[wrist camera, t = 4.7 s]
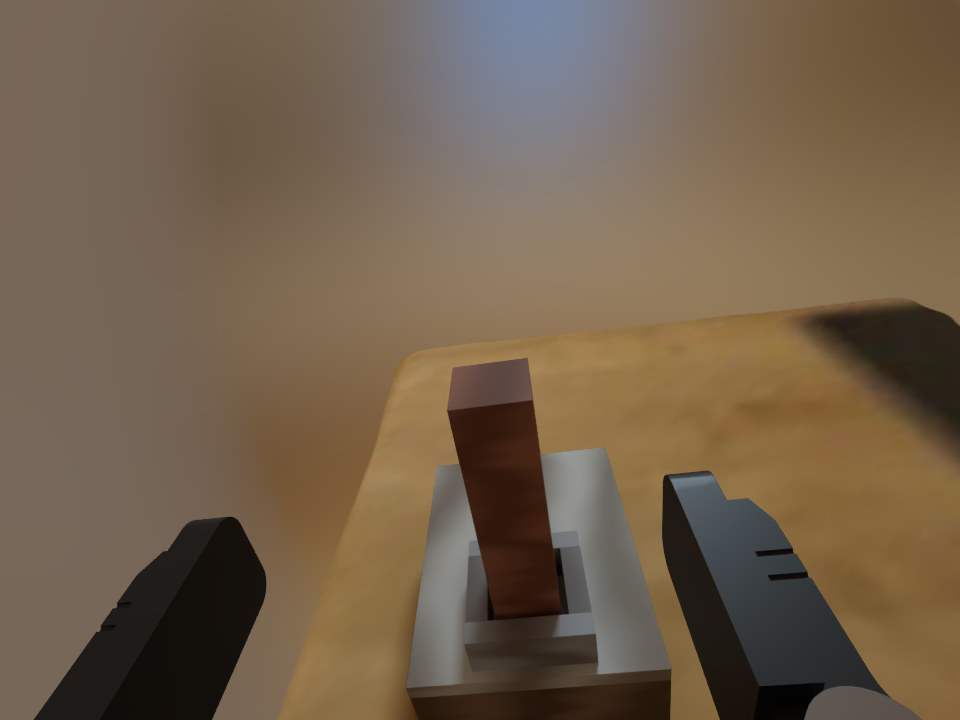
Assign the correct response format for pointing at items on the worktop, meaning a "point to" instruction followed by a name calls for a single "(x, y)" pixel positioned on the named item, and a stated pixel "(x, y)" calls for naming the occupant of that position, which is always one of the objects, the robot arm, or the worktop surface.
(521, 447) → the wooden key
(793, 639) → the robot arm
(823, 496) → the worktop surface
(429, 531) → the gray socket block
